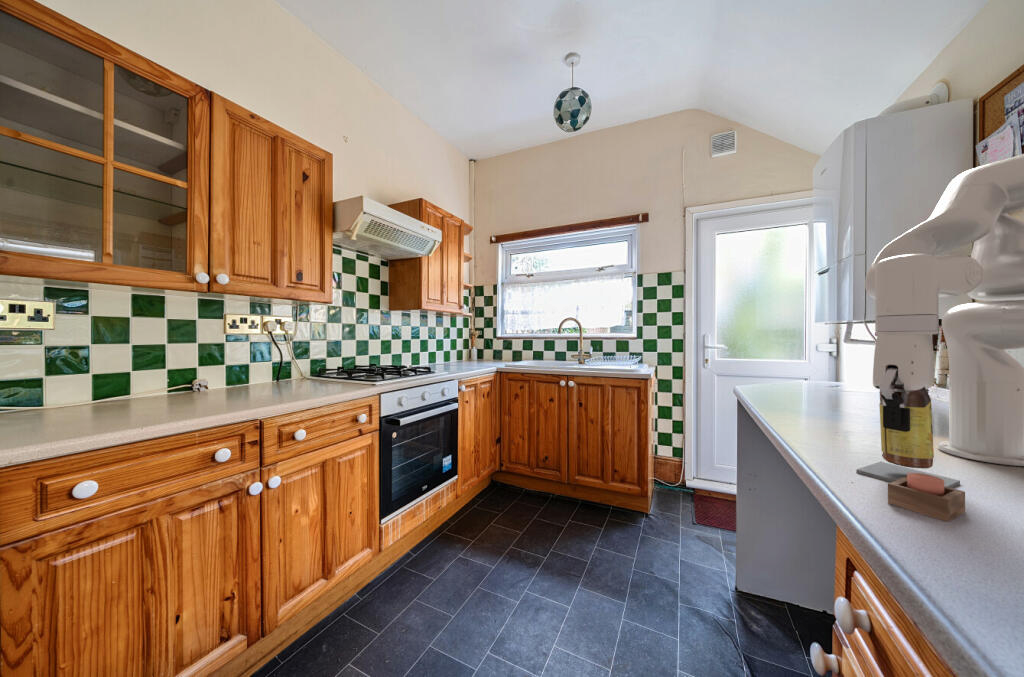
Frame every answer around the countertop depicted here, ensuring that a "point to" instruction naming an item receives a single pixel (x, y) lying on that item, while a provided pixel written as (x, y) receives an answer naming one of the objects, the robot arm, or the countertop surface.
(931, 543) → the countertop surface
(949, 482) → the mat
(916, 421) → the sauce bottle
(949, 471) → the countertop surface
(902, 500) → the box
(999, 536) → the countertop surface
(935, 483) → the button
